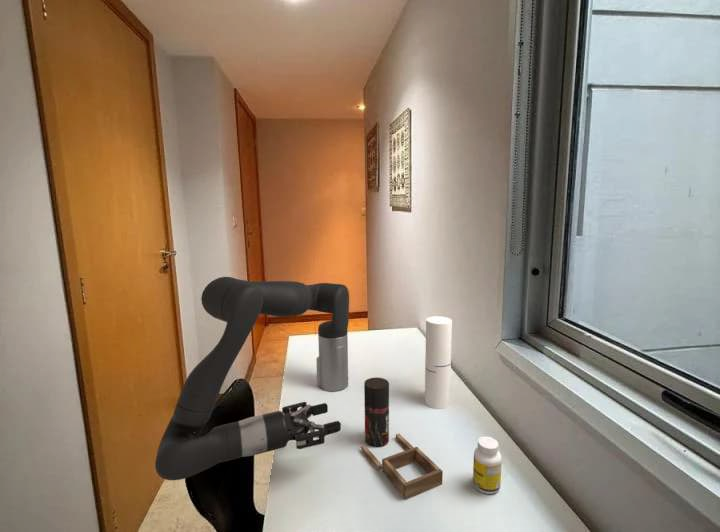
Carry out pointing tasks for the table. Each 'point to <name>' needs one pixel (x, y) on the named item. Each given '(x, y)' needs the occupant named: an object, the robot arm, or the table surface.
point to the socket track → (403, 459)
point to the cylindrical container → (438, 362)
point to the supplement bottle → (487, 466)
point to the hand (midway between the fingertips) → (333, 416)
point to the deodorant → (376, 412)
